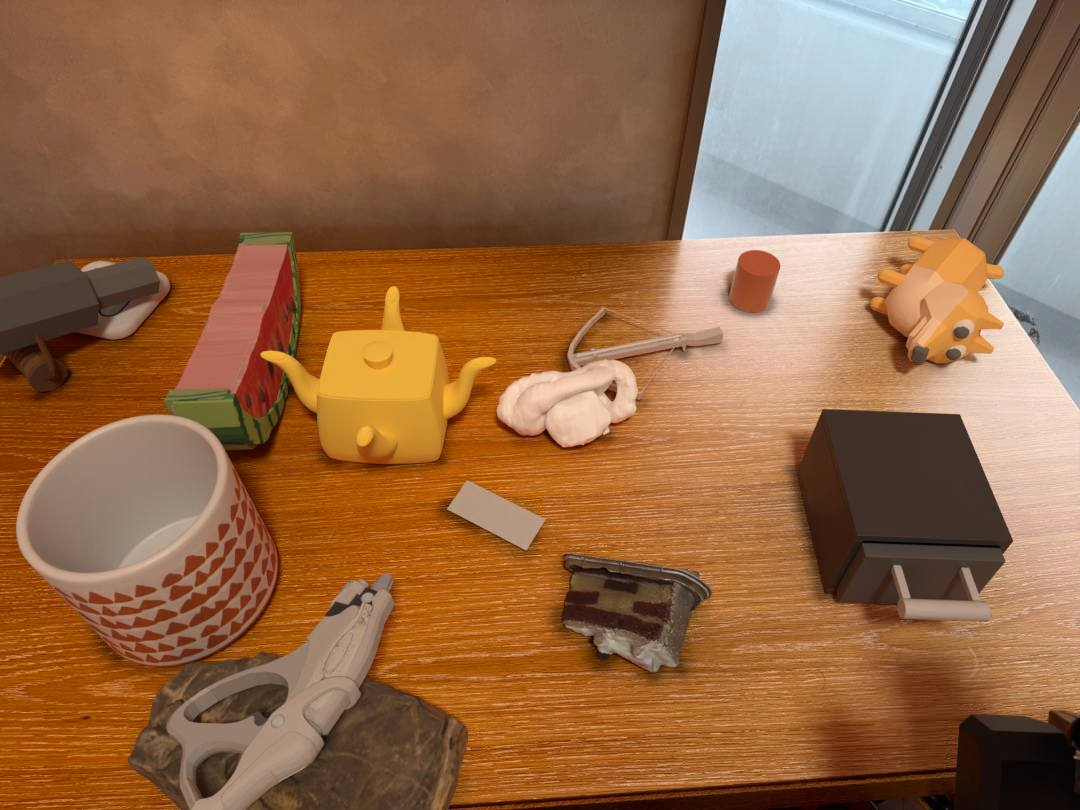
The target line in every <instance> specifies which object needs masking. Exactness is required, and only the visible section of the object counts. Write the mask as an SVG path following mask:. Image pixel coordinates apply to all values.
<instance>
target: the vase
mask: <svg viewBox="0 0 1080 810" xmlns="http://www.w3.org/2000/svg"><path fill="white" fill-rule="evenodd" d="M226 451H227V450H225V449H224V448H223V446H222V444H221V443H220V441H219V440H218V438H217V437H216V436H215V435H214V434H213V433H212V432H211V431H210V430H209V429H207V428H206V427H204V426H203V425H201V424H199V423H197V422H195V421H193V420H190V419H187V418H184V417H179V416H173V415H170V414H159V413H157V414H156V413H155V414H143V415H137V416H131V417H127V418H123V419H120V420H116V421H113V422H109V423H107V424H105V425H103V426H101V427H98V428H95V429H93V430H91V431H90V432H88V433H86V434H84V435H82V436H81V437H79V438H78V439H76V440H74V441H73V442H72V443H70V444H69V445H67V446H66V447H65V448H63V449H62V450H61V451H60V452H59V453H57V454H56V455H55V456H54V457H53V458H52V459H50V461H48V463H47V464H46V465H45V466H43V468H42V469H41V470H40V472H38V474H36V477H35V478H34V479H33V480H32V482H31V483H30V485H29V486H28V488H27V490H26V492H25V494H24V496H23V497H22V499H21V503H20V505H19V509H18V510H17V511H18V512H17V516H16V523H15V535H16V541H17V545H18V548H19V550H20V552H21V555H22V556H23V557H24V559H25V560H26V561H27V563H28V564H29V565H30V566H31V568H33V569H34V571H36V573H38V574H39V576H40V577H41V578H42V579H44V580H45V582H46V583H47V584H49V586H50V587H51V588H52V589H53V590H54V591H55V592H56V593H57V594H58V595H59V596H60V597H61V598H62V599H63V600H64V601H65V603H66V604H68V605H69V607H70V608H71V609H72V610H74V611H75V613H76V614H77V615H78V616H79V617H80V618H81V619H82V620H83V621H84V622H85V623H86V624H87V625H88V626H89V627H90V629H92V630H93V631H94V632H95V634H97V635H98V636H99V637H100V638H101V640H103V641H104V642H105V644H107V645H108V646H109V647H110V648H111V650H113V651H114V652H115V653H116V654H117V655H119V656H120V657H122V658H124V659H125V660H128V661H129V662H133V663H135V664H138V665H141V666H146V667H155V668H167V667H168V668H169V667H177V666H183V665H187V664H189V663H193V662H199V661H201V660H203V659H205V658H208V657H209V656H212V655H214V654H216V653H218V652H219V651H222V650H223V649H225V648H226V647H228V646H229V645H231V644H232V643H233V642H235V641H236V640H237V639H239V638H240V637H241V636H242V635H243V634H245V632H247V631H248V630H249V628H251V627H252V626H253V624H254V623H255V622H256V621H257V619H258V618H259V617H260V616H261V614H262V613H263V612H264V610H265V608H266V607H267V605H268V603H269V601H270V600H271V597H272V595H273V592H274V589H275V587H276V583H277V579H278V573H279V557H278V551H277V548H276V545H275V542H274V540H273V538H272V535H271V534H270V532H269V530H268V527H266V525H265V522H264V521H263V519H262V517H261V515H260V513H259V510H257V508H256V506H255V504H254V502H253V500H252V498H251V496H250V495H249V493H248V491H247V489H246V486H245V485H244V483H243V481H242V478H241V477H240V476H239V474H238V472H237V470H236V469H235V467H234V464H233V463H232V461H231V459H230V457H229V454H228V453H227V452H226Z"/></svg>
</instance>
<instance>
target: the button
mask: <svg viewBox="0 0 1080 810" xmlns="http://www.w3.org/2000/svg"><path fill="white" fill-rule="evenodd" d="M116 263H117V262H112V261H106V260H97V261H92V262H90V263H88V264H85V265H84V266H82V267H81V268H80V270H82V271H83V272H85V271H89V270H93V269H97V268H101V267H105V266H109V265H113V264H116ZM156 272H157V275H158V277H159V280H160V285H159V293H156V294H153V295H149V296H146V297H142V298H139V299H136V300H132V301H129V302H125V303H122V304H118V305H115V306H111V307H108V308H104V309H101V310H98V325H95V326H92V327H89V328H85V329H82V330H79V331H75V332H74V333H76V334H83V335H87V336H92V337H97V338H102V339H106V340H111V341H116V340H117V341H118V340H122V339H125V338H128V337H129V336H132V335H133V334H134V333H136V331H137V330H138V329H139V328H140V326H141V325H142V324H143V323H144V322H145V321H146V320H147V318H148V317H149V316H150V315H151V314H152V313H153V312H154V310H155V309H156V308H157V306H158V305H160V303H161V302H162V301H163V300H164V298H165V297H166V296H167V295H168V294H169V293H170V290H171V282H170V279H169V277H167V275H166V274H165V273H164V272H161V271H157V270H156Z"/></svg>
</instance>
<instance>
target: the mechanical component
mask: <svg viewBox="0 0 1080 810" xmlns="http://www.w3.org/2000/svg"><path fill="white" fill-rule="evenodd" d="M115 263H116V264H113V265H109V266H105V267H101V268H97V269H93V270H89V271H85V272H83V271H82V270H81V268H79V266H77V265H76V264H75V263H74V262H73V261H71V260H65V261H61V262H58V263H53V264H50V265H45V266H40V267H37V268H33V269H28V270H24V271H21V272H17V273H12V274H8V275H4V276H0V355H3V356H5V358H7V359H8V360H9V361H10V362H11V363H12V364H13V365H14V367H16V369H17V370H18V371H19V372H21V374H22V375H23V376H24V377H25V378H26V379H27V383H28V385H29V386H30V387H31V388H32V389H34V390H35V391H37V392H39V393H44V392H52V391H54V390H56V389H57V388H58V387H61V386H62V385H63V383H64V382H65V380H66V378H67V377H68V371H67V370H68V369H67V366H66V365H65V363H63V362H62V361H60V360H59V359H57V358H54V357H53V356H52V355H51V353H50V351H49V349H48V347H47V345H46V341H49V340H52V339H55V338H59V337H62V336H65V335H69V334H71V333H76V332H75V331H79V330H82V329H85V328H89V327H92V326H95V325H98V310H101V309H104V308H108V307H111V306H115V305H118V304H122V303H125V302H129V301H132V300H136V299H139V298H142V297H146V296H149V295H153V294H156V293H159V285H160V280H159V277H158V275H157V272H156V271H157V270H156V268H155V265H154V263H153V262H152V261H150V260H149V259H147V258H146V256H140V257H137V258H133V259H128V260H125V261H124V260H123V261H121V262H115Z"/></svg>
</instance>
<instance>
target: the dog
mask: <svg viewBox="0 0 1080 810" xmlns="http://www.w3.org/2000/svg"><path fill="white" fill-rule="evenodd" d="M907 247H908V248H909V249H910V250H911V251H913V252H917V253H920V254H921V255H920V256H919V258H917V259H916V261H915V262H914V263H913V264H911V263H906V264H903V265H901V267H900V268H899V272H898V271H895V270H892V269H889V268H883V269H880V270H879V271H878V273H877V280H878V281H879V283H882V284H884V285H887V286H890V287H892V289H891V291H890V292H889V294H888V295H887V296H886V298H885V297H882V296H875V297H872V299H871V300H870V303H869V305H870V308H871V309H872V310H873V311H875V312H878V313H881V314H883V315H886V316H887V319H888V323H889V325H890V326H891V327H892V328H894V329H895V330H896V331H898V333H900V334H901V335H902V336H904V337H905V338H907V340H906V343H905V348H906V349H907V351H908V352H907V355H906V356H907V358H908V360H909V361H910V363H915V364H917V365H924V364H925V362H926V361H930V362H933V363H935V364H946V363H951V362H955V361H957V360H960V359H962V358H964V357H965V356H967V355H969V354H993V352H994V349H995V347H994V345H992V344H991V343H990V342H988V341H987V340H986V339H985V338H984V337H983V336H982V335H981V332H982V330H1002V329H1003V327H1004V325H1005V322H1004V321H1002V320H1001V319H999V318H998V317H996V316H994V315H993V314H992V313H990V312H989V306H988V304H987V303H986V300H985V298H984V297H983V296H982V295H981V294H980V293H979V291H980V290H981V289H982V287H983V286H984V285H986V282H987V279H989V280H1001V278H1003V276H1004V275H1005V269H1004V268H1003V267H1002V266H1001V265H997V264H991V263H987V257H986V253H985V252H984V251H983V250H982V249H980V248H979V247H978V246H976V245H975V244H973V243H972V242H971V241H969V240H968V239H967V238H965V237H961V238H959V237H958V238H940V239H938V240H936V241H934V240H930V239H927V238H924V237H922V236H921V237H920V236H911V237H910V238H909V239H908V241H907Z"/></svg>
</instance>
